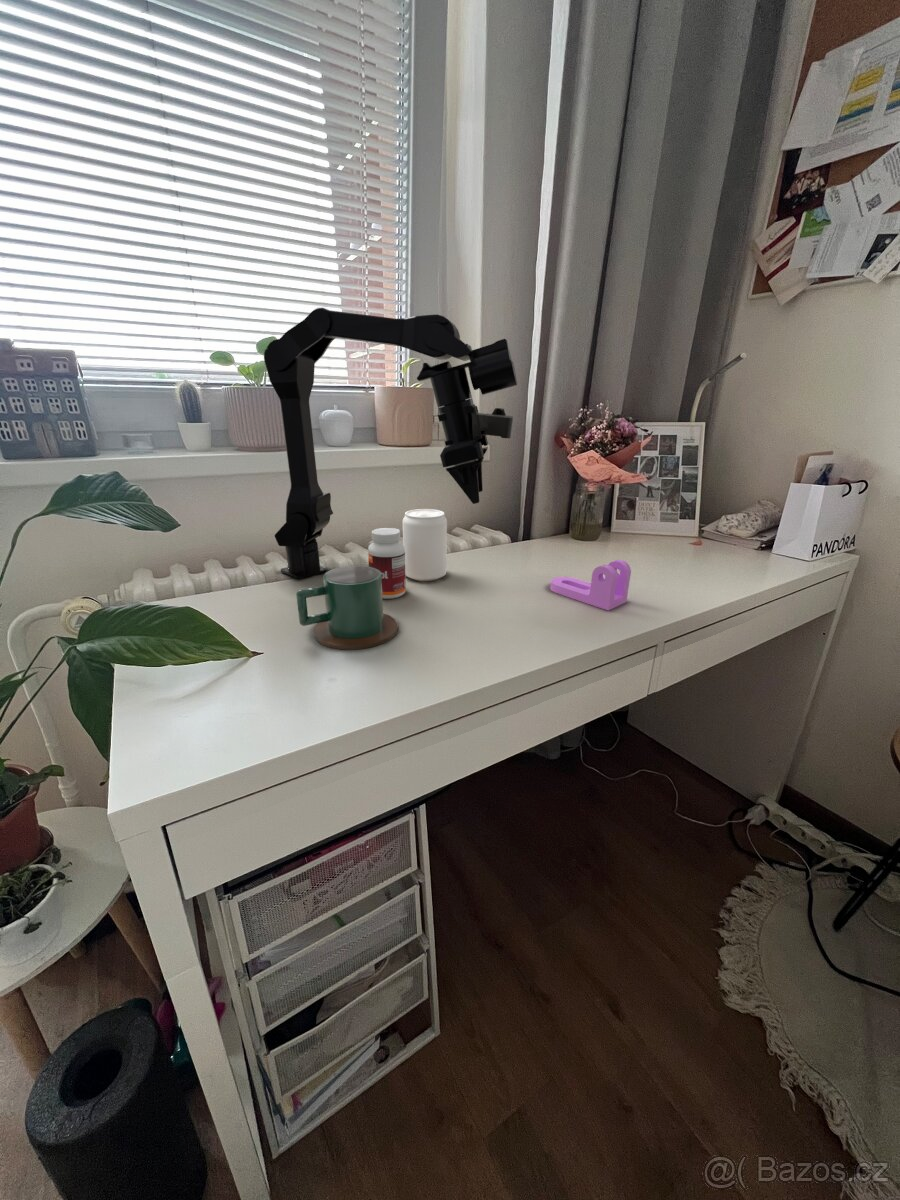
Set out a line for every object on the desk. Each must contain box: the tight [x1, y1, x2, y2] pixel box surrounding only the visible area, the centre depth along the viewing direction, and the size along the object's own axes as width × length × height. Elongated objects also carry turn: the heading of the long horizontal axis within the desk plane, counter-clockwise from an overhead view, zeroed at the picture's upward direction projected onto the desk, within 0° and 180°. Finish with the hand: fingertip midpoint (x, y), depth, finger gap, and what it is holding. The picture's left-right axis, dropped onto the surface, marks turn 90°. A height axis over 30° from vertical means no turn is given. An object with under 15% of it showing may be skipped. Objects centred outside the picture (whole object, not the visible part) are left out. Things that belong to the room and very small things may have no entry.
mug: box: [295, 565, 384, 639], centre depth 71 cm, size 12×8×8 cm
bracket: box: [550, 559, 632, 611], centre depth 86 cm, size 13×6×7 cm, turn 42°
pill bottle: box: [367, 527, 407, 600], centre depth 85 cm, size 6×6×11 cm
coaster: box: [313, 612, 399, 651], centre depth 73 cm, size 12×12×1 cm
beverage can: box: [402, 508, 448, 582], centre depth 94 cm, size 8×8×12 cm
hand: (478, 497), depth 86 cm, fingers open, 9 cm apart
